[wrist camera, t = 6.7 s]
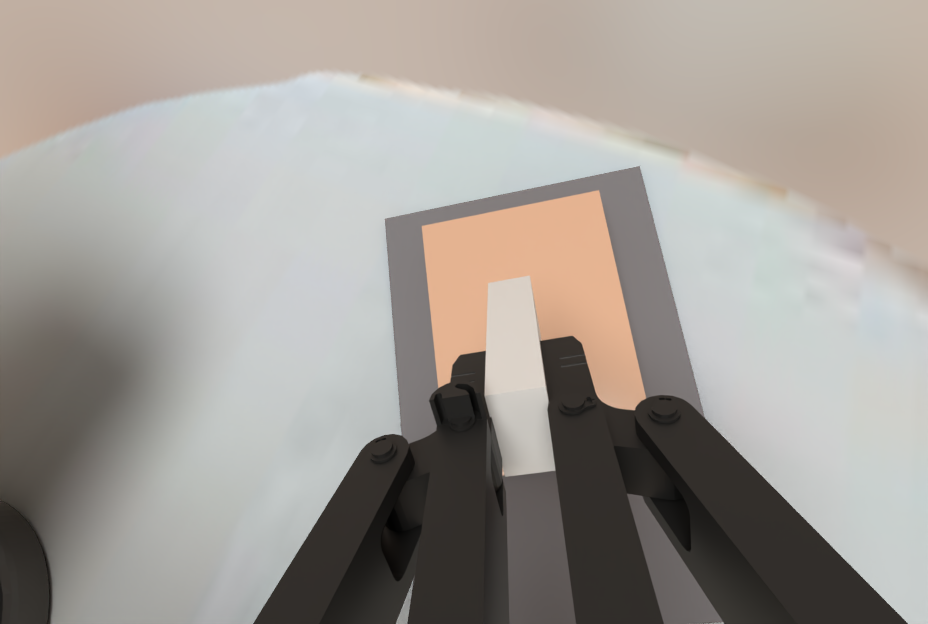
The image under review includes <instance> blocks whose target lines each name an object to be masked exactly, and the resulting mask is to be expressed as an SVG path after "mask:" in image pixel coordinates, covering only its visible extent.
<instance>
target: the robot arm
mask: <svg viewBox="0 0 928 624" xmlns="http://www.w3.org/2000/svg"><path fill="white" fill-rule="evenodd" d="M429 402H430V406H431V409H432V412H433V415H434V418H435V421H436V425H437V428H436V431H435V432H433V433H432V434H431V435H429V436H427V437H425V438H423V439H420V440H417V441H415V442H412V443H409V444H408V441H407V439H405V438H404V437H403V436H400V435H395V434H391V435H384V436H381V437H378V438H376V439H374V440H373V441H371V442H370V443H368V444H367V445H366V446H365V447H364V448H363V449H362V450H361V452H360V453H359V455H358V456H357V458H356V460H355V461H354V463H353V464H352V466H351V468H350V469H349V471H348V472H347V474H346V476H345V477H344V479H343V480H342V482H341V484H340V485H339V487H338V489H337V490H336V492H335V493H334V495H333V497H332V498H331V500H330V501H329V503H328V505H327V506H326V508H325V509H324V511H323V513H322V514H321V516H320V517H319V519H318V521H317V522H316V524H315V525H314V527H313V529H312V530H311V532H310V533H309V535H308V537H307V538H306V540H305V541H304V543H303V545H302V546H301V548H300V549H299V551H298V553H297V554H296V556H295V558H294V559H293V561H292V562H291V564H290V566H289V567H288V569H287V570H286V572H285V574H284V575H283V577H282V578H281V580H280V582H279V583H278V585H277V586H276V588H275V590H274V591H273V593H272V594H271V596H270V598H269V599H268V601H267V602H266V604H265V606H264V607H263V609H262V610H261V612H260V614H259V615H258V617H257V619H256V620H255V622H254V623H253V624H396V621H397V619H398V616H399V613H400V611H401V608H402V606H403V603H404V601H405V598H406V596H407V593H408V591H409V588H410V586H411V583H412V581H413V578H414V583H413V590H412V597H411V604H410V610H409V617H408V624H510V621H509V583H508V545H507V506H506V490H505V486H504V482H503V476H502V467H503V471H504V475H505V477H508V476H516V475H524V474H532V473H540V472H548V471H556V478H557V485H558V493H559V500H560V508H561V515H562V523H563V530H564V538H565V545H566V553H567V560H568V567H569V575H570V582H571V590H572V597H573V605H574V612H575V620H576V624H664V622H663V619H662V615H661V612H660V608H659V605H658V601H657V598H656V594H655V591H654V587H653V584H652V580H651V576H650V573H649V569H648V566H647V562H646V559H645V555H644V552H643V548H642V545H641V541H640V538H639V534H638V531H637V527H636V524H635V520H634V517H633V513H632V510H631V506H630V503H629V499H628V495H627V494H633V495H639V496H643V499H644V502H645V503H646V505H647V507H648V508H649V510H650V511H651V513H652V514H653V516H654V517H655V519H656V520H657V522H658V523H659V525H660V526H661V528H662V529H663V531H664V532H665V534H666V535H667V537H668V539H669V540H670V542H671V543H672V545H673V546H674V548H675V549H676V551H677V552H678V554H679V555H680V557H681V558H682V560H683V561H684V563H685V564H686V566H687V567H688V569H689V571H690V572H691V574H692V575H693V577H694V578H695V580H696V581H697V583H698V584H699V586H700V587H701V589H702V590H703V592H704V593H705V595H706V596H707V598H708V599H709V601H710V603H711V604H712V606H713V607H714V609H715V610H716V612H717V613H718V615H719V616H720V618H721V619H722V621H723V622H724V624H908V623H907V622H906V621H905V620H904V619H903V618H902V617H901V616H900V615H899V614H898V613H897V612H896V611H895V610H894V609H893V608H892V607H891V606H890V605H889V604H888V603H887V602H886V601H885V600H884V599H883V598H882V597H881V596H880V595H879V594H878V593H877V592H876V591H875V590H874V589H873V588H872V587H871V586H870V585H869V584H868V583H867V582H866V581H865V580H864V579H863V578H862V577H861V576H860V575H859V574H858V573H857V572H856V571H855V570H854V569H853V568H852V567H851V566H850V565H849V564H848V563H847V562H846V561H845V560H844V559H843V558H842V557H841V556H840V555H839V554H838V553H837V552H836V551H835V550H834V549H833V548H832V547H831V546H830V544H829V543H828V542H827V541H826V540H825V539H824V538H823V537H822V536H821V535H820V534H819V533H818V532H817V531H816V530H815V529H814V528H813V527H812V526H811V525H810V524H809V523H808V522H807V521H806V520H805V519H804V518H803V517H802V516H801V515H800V514H799V513H798V512H797V511H796V510H795V509H794V508H793V507H792V506H791V505H790V504H789V503H788V502H787V501H786V500H785V499H784V498H783V497H782V496H781V495H780V494H779V493H778V492H777V491H776V490H775V489H774V488H773V487H772V486H771V485H770V484H769V483H768V482H767V481H766V480H765V479H764V478H763V477H762V476H761V475H760V474H759V473H758V472H757V471H756V470H755V469H754V468H753V467H752V466H751V465H750V464H749V463H748V462H747V461H746V460H745V459H744V458H743V457H742V456H741V455H740V453H739V452H738V451H737V450H736V449H735V448H734V447H733V446H732V445H731V444H730V443H729V442H728V441H727V440H726V439H725V438H724V437H723V436H722V435H721V434H720V433H719V432H718V431H717V430H716V429H715V428H714V427H713V426H712V425H711V424H710V423H709V422H708V421H707V420H706V419H705V418H704V417H703V416H702V415H701V414H700V413H699V412H698V411H697V410H696V409H695V408H694V407H693V406H692V405H691V404H690V403H688V402H687V401H685V400H684V399H681V398H678V397H675V396H670V395H657V396H651V397H648V398H646V399H644V400H642V401H641V402H640V403H639V404H638V405H637V406H636V408H635V410H626V409H619V408H615V407H612V406H609V405H607V404H605V403H604V402H602V401H601V400H600V399H599V398H598V396H597V394H596V392H595V388H594V385H593V381H592V378H591V374H590V371H589V367H588V364H587V360H586V356H585V353H584V349H583V346H582V343H581V342H580V341H578V340H577V339H576V338H575V337H574V336H567V337H561V338H554V339H548V340H541V334H540V329H539V323H538V318H537V312H536V307H535V301H534V296H533V290H532V285H531V279H530V276H524V277H519V278H513V279H508V280H502V281H497V282H491V283H488V301H487V332H486V351H481V352H475V353H469V354H463V355H460V356H459V357H458V358H457V360H456V361H455V362H454V364H453V365H452V372H451V379H450V383H447V384H445V385H443V386H441V387H439V388H438V389H437V390H436V391H435V392H434V393H432V395H431V397H430V399H429ZM414 575H415V577H414ZM48 610H49V582H48V573H47V567H46V562H45V558H44V554H43V551H42V548H41V546H40V543H39V541H38V539H37V537H36V535H35V533H34V531H33V529H32V528H31V526H30V525H29V523H28V522H27V521H26V520H25V519H24V517H23V516H22V515H21V514H20V513H19V512H17V511H16V510H15V509H14V508H12V507H11V506H9V505H8V504H6V503H4V502H2V501H0V624H47V619H48Z"/></svg>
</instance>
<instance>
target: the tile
mask: <svg viewBox="0 0 928 624" xmlns="http://www.w3.org/2000/svg"><path fill="white" fill-rule="evenodd" d="M422 234H423V244H424V254H425V263H426V273H427V283H428V293H429V302H430V312H431V322H432V332H433V341H434V351H435V361H436V371H437V380H438V388H439V387H441V386H443V385H445V384H447V383H450V379H451V372H452V365H453V364H454V362H455V361H456V360H457V358H458V357H459V356H460V355H463V354H469V353H475V352H481V351H486V332H487V301H488V283H491V282H497V281H502V280H508V279H513V278H519V277H524V276H530V279H531V285H532V290H533V296H534V301H535V307H536V312H537V318H538V323H539V329H540V334H541V340H548V339H554V338H561V337H567V336H574V337H575V338H576V339H577V340H578V341H580V342H581V343H582V346H583V349H584V353H585V356H586V360H587V364H588V367H589V371H590V374H591V378H592V381H593V385H594V388H595V392H596V394H597V396H598V398H599V399H600V400H601V401H602V402H604V403H605V404H607V405H609V406H612V407H615V408H619V409H626V410H635V408H636V406H637V405H638V404H639V403H640V402H641V401H642V400H644V399H646V395H645V391H644V387H643V382H642V378H641V373H640V369H639V364H638V360H637V356H636V351H635V347H634V342H633V338H632V334H631V329H630V325H629V320H628V316H627V311H626V307H625V303H624V298H623V294H622V289H621V285H620V281H619V276H618V272H617V267H616V263H615V259H614V254H613V250H612V245H611V241H610V236H609V232H608V228H607V223H606V219H605V214H604V210H603V206H602V201H601V197H600V192H599V190H597V191H592V192H587V193H583V194H578V195H573V196H568V197H563V198H558V199H553V200H548V201H543V202H538V203H533V204H528V205H523V206H518V207H513V208H508V209H503V210H498V211H494V212H489V213H484V214H479V215H474V216H469V217H464V218H459V219H454V220H449V221H444V222H439V223H434V224H429V225H424V226H422ZM503 475H504V471H503V467H502V476H503Z"/></svg>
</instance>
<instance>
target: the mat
mask: <svg viewBox="0 0 928 624" xmlns="http://www.w3.org/2000/svg"><path fill="white" fill-rule="evenodd" d="M597 190H599V192H600V197H601V201H602V206H603V210H604V214H605V219H606V223H607V228H608V232H609V236H610V241H611V245H612V250H613V254H614V259H615V263H616V267H617V272H618V276H619V281H620V285H621V289H622V294H623V298H624V303H625V307H626V311H627V316H628V320H629V325H630V329H631V334H632V338H633V342H634V347H635V351H636V356H637V360H638V364H639V369H640V373H641V378H642V382H643V387H644V391H645V395H646V398H648V397H651V396H657V395H670V396H675V397H678V398H681V399H684V400H685V401H687V402H688V403H690V404H691V405H692V406H693V407H694V408H695V409H696V410H697V411H698V412H699V413H700V414H701V415H702V416H703V417H704V413H703V410H702V406H701V402H700V398H699V394H698V390H697V386H696V382H695V379H694V375H693V371H692V367H691V363H690V359H689V355H688V352H687V348H686V344H685V340H684V336H683V332H682V328H681V324H680V321H679V317H678V313H677V309H676V305H675V301H674V297H673V294H672V290H671V286H670V282H669V278H668V274H667V270H666V266H665V263H664V259H663V255H662V251H661V247H660V243H659V239H658V236H657V232H656V228H655V224H654V220H653V216H652V212H651V208H650V205H649V201H648V197H647V193H646V189H645V185H644V181H643V178H642V174H641V170H640V166H638V167H634V168H629V169H624V170H619V171H614V172H609V173H605V174H600V175H595V176H590V177H585V178H580V179H576V180H571V181H566V182H561V183H556V184H551V185H547V186H542V187H537V188H532V189H527V190H522V191H518V192H513V193H508V194H503V195H498V196H493V197H488V198H484V199H479V200H474V201H469V202H464V203H459V204H455V205H450V206H445V207H440V208H435V209H430V210H426V211H421V212H416V213H411V214H406V215H401V216H397V217H392V218H387V219H385V226H386V239H387V252H388V264H389V277H390V290H391V303H392V315H393V328H394V341H395V354H396V366H397V379H398V392H399V405H400V417H401V430H402V436H403V437H404V438H405V439H407V441H408V444H409V443H412V442H415V441H417V440H420V439H423V438H425V437H427V436H429V435H431V434H432V433H433V432H435V431H436V428H437V425H436V421H435V418H434V415H433V412H432V409H431V406H430V402H429V399H430V397H431V395H432V393H434V392H435V391H436V390H437V389H438V380H437V371H436V361H435V351H434V341H433V332H432V322H431V312H430V302H429V293H428V283H427V273H426V263H425V254H424V244H423V234H422V226H424V225H429V224H434V223H439V222H444V221H449V220H454V219H459V218H464V217H469V216H474V215H479V214H484V213H489V212H494V211H498V210H503V209H508V208H513V207H518V206H523V205H528V204H533V203H538V202H543V201H548V200H553V199H558V198H563V197H568V196H573V195H578V194H583V193H587V192H592V191H597ZM704 418H705V417H704ZM503 482H504V486H505V490H506V506H507V545H508V583H509V621H510V624H576V620H575V612H574V605H573V597H572V590H571V582H570V575H569V567H568V560H567V553H566V545H565V538H564V530H563V523H562V515H561V508H560V500H559V493H558V485H557V478H556V471H548V472H540V473H532V474H524V475H516V476H508V477H505V475H503ZM627 495H628V499H629V503H630V506H631V510H632V513H633V517H634V520H635V524H636V527H637V531H638V534H639V538H640V541H641V545H642V548H643V552H644V555H645V559H646V562H647V566H648V569H649V573H650V576H651V580H652V584H653V587H654V591H655V594H656V598H657V601H658V605H659V608H660V612H661V615H662V619H663V622H664V624H699V623H712V622H723V621H722V619H721V618H720V616H719V615H718V613H717V612H716V610H715V609H714V607H713V606H712V604H711V603H710V601H709V599H708V598H707V596H706V595H705V593H704V592H703V590H702V589H701V587H700V586H699V584H698V583H697V581H696V580H695V578H694V577H693V575H692V574H691V572H690V571H689V569H688V567H687V566H686V564H685V563H684V561H683V560H682V558H681V557H680V555H679V554H678V552H677V551H676V549H675V548H674V546H673V545H672V543H671V542H670V540H669V539H668V537H667V535H666V534H665V532H664V531H663V529H662V528H661V526H660V525H659V523H658V522H657V520H656V519H655V517H654V516H653V514H652V513H651V511H650V510H649V508H648V507H647V505H646V503H645V502H644V499H643V496H639V495H633V494H627ZM414 577H415V575H414ZM413 583H414V578H413Z"/></svg>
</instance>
